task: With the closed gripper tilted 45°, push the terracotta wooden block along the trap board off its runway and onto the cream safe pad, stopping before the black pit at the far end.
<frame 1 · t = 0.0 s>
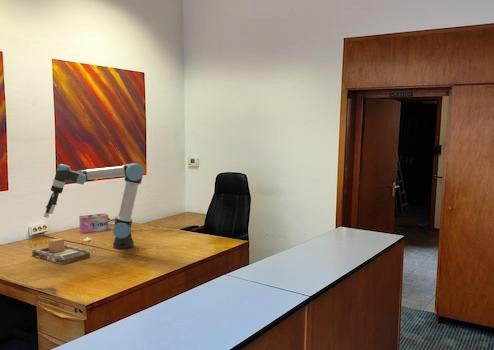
hand: (48, 215, 296), 28 cm above the table, tool tilted 20°, fingers open, 13 cm apart
trap board: (60, 256, 296), on the table
gum box: (94, 231, 372), on the table
terracotta block: (56, 251, 298), point 3 cm above the table, touching trap board
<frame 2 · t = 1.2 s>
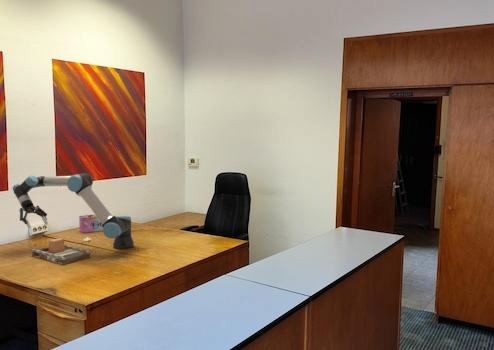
hand: (38, 225, 308), 18 cm above the table, tool tilted 45°, fingers open, 12 cm apart
nothing on the table moved.
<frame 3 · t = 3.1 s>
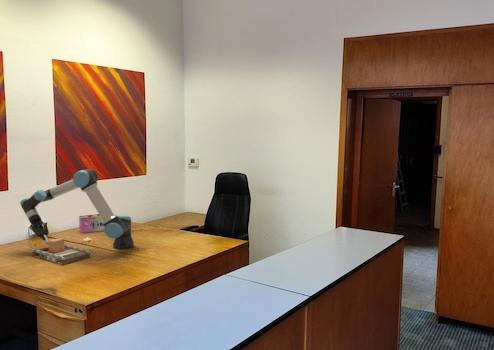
hand: (48, 243, 303), 7 cm above the table, tool tilted 45°, fingers closed
nothing on the table moved.
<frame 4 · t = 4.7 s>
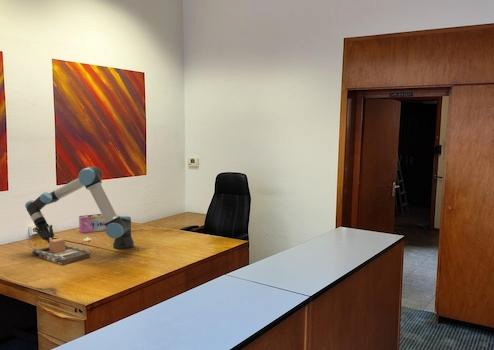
hand: (53, 246, 299), 6 cm above the table, tool tilted 45°, fingers closed
terracotta block: (57, 251, 298), point 3 cm above the table, touching gripper
everything else where it was.
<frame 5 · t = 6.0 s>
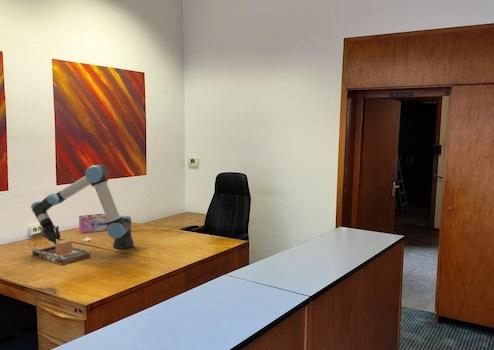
hand: (59, 247, 296), 6 cm above the table, tool tilted 45°, fingers closed
terracotta block: (64, 253, 294), point 3 cm above the table, touching trap board
everything else where it was.
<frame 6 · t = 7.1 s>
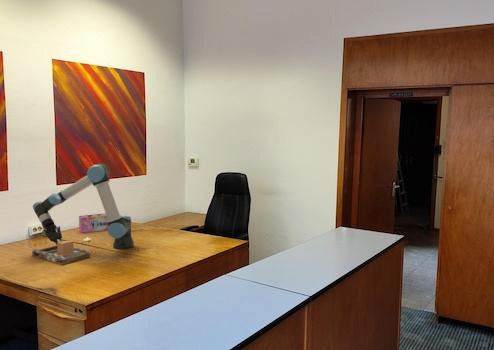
hand: (61, 248, 295), 6 cm above the table, tool tilted 45°, fingers closed
terracotta block: (65, 253, 293), point 3 cm above the table, touching gripper, trap board
everything else where it was.
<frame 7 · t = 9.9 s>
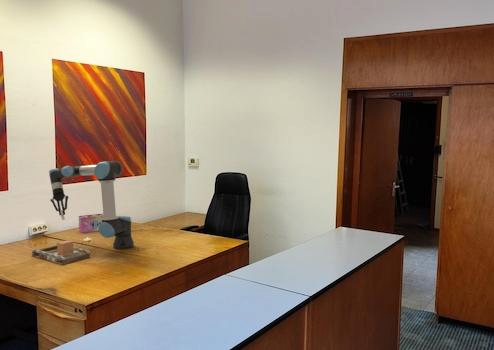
hand: (63, 219, 318), 21 cm above the table, tool tilted 25°, fingers closed
terracotta block: (65, 253, 293), point 3 cm above the table, touching trap board
everything else where it was.
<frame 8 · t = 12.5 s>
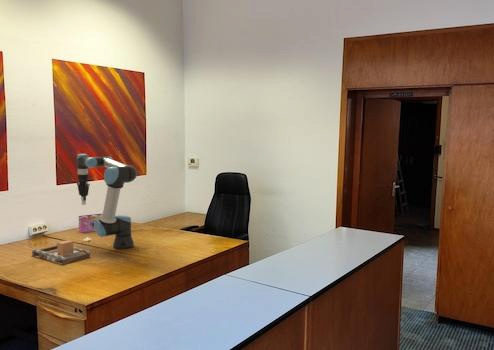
hand: (83, 204, 332), 29 cm above the table, tool pointing down, fingers closed
at the end: terracotta block inside the target area (1.1 cm from its centre), point 3.0 cm above the table; terracotta block tilted 0° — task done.
